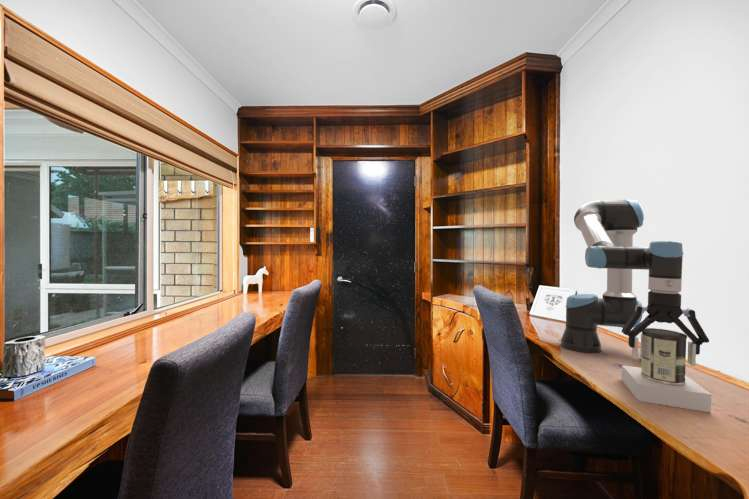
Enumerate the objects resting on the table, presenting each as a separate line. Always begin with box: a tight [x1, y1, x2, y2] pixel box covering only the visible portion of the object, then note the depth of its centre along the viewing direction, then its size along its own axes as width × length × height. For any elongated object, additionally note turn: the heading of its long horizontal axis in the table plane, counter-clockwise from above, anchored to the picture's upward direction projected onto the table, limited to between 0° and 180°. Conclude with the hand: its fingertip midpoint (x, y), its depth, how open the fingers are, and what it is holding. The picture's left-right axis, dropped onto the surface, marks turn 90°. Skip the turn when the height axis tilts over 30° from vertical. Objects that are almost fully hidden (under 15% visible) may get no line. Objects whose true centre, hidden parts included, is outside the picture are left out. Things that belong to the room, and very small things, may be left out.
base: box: [621, 364, 712, 413], centre depth 99 cm, size 16×16×5 cm
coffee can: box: [640, 327, 688, 385], centre depth 99 cm, size 10×10×14 cm
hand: (662, 361), depth 99 cm, fingers open, 13 cm apart
